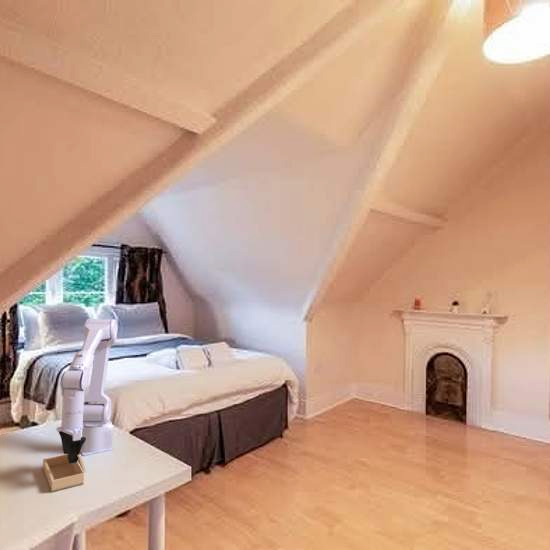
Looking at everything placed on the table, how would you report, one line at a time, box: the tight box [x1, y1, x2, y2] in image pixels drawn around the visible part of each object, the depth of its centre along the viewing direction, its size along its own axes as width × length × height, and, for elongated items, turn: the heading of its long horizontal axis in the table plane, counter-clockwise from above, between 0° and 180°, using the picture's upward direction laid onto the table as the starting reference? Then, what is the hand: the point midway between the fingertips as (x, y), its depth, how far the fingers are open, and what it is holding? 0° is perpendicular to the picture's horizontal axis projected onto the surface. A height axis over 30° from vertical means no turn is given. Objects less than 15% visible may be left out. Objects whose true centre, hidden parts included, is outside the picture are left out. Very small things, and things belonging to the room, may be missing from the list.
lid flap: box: [77, 454, 87, 474], centre depth 125 cm, size 4×15×1 cm
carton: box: [42, 454, 85, 493], centre depth 123 cm, size 8×16×3 cm, turn 37°
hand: (70, 457), depth 123 cm, fingers open, 7 cm apart
